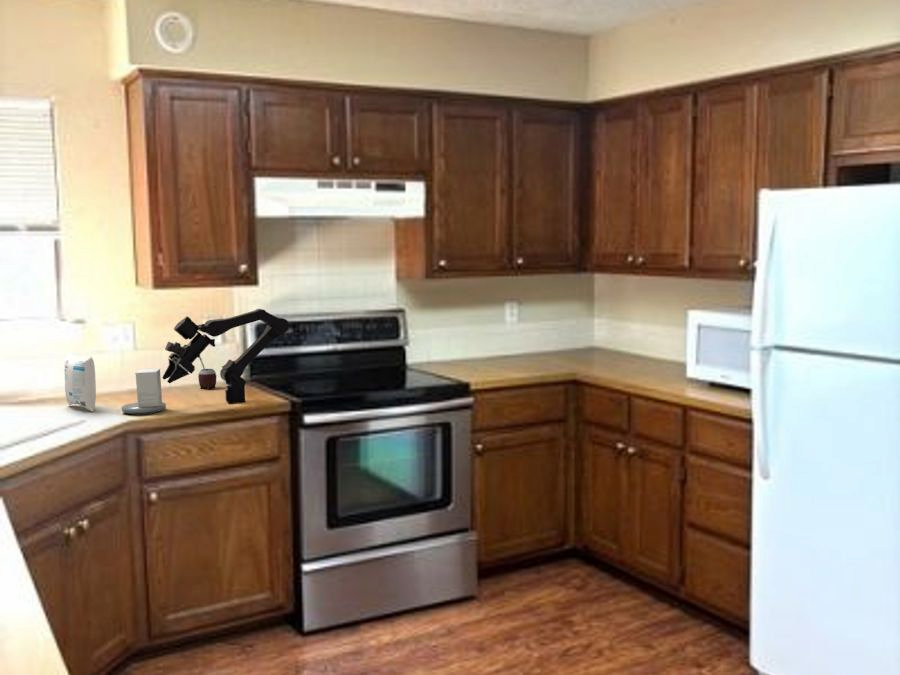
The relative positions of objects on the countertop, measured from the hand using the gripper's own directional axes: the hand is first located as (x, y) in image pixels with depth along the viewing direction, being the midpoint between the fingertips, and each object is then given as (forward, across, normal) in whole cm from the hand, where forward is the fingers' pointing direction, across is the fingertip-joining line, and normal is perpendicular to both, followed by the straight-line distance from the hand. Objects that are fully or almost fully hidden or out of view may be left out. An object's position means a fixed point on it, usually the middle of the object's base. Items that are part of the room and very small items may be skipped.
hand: (165, 380), depth 322 cm
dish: (+13, 0, +2) cm, 13 cm away
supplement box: (+10, 0, +2) cm, 10 cm away
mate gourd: (-8, -35, +24) cm, 43 cm away
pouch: (+27, -18, -12) cm, 34 cm away
